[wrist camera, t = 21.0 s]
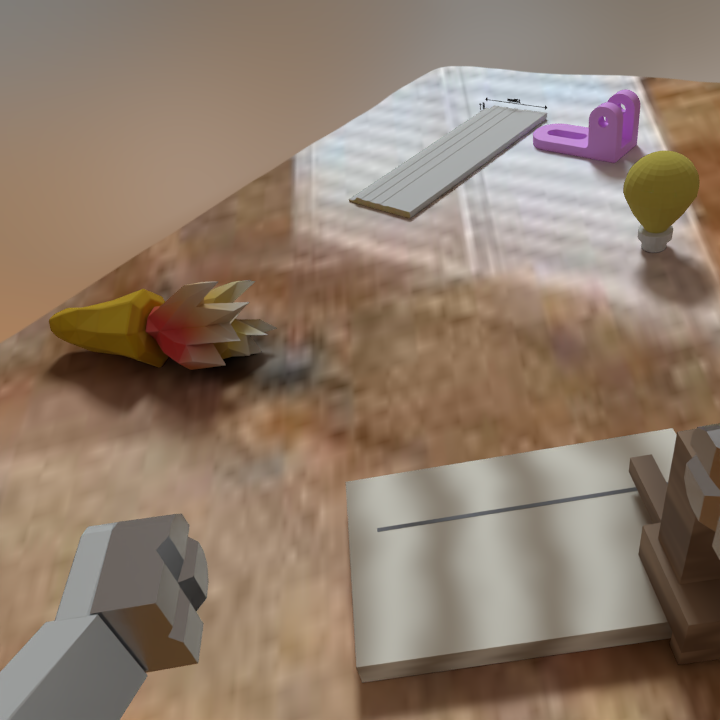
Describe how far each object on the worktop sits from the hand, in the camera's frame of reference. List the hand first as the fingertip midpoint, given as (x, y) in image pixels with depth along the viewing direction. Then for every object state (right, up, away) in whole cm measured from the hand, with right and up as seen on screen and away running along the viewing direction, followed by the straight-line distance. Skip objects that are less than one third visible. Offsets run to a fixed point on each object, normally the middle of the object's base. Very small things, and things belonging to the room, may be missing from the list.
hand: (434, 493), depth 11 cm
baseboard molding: (+11, +30, +84) cm, 89 cm away
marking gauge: (+18, -11, +32) cm, 38 cm away
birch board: (+10, -11, +35) cm, 38 cm away
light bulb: (+29, +14, +59) cm, 67 cm away
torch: (-21, +3, +60) cm, 64 cm away
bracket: (+28, +30, +79) cm, 89 cm away
